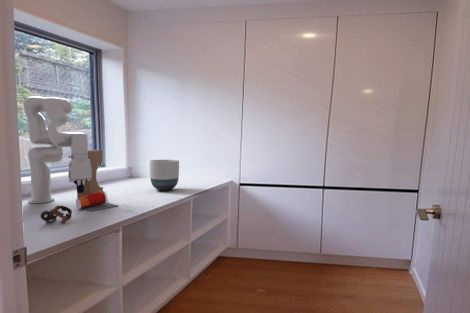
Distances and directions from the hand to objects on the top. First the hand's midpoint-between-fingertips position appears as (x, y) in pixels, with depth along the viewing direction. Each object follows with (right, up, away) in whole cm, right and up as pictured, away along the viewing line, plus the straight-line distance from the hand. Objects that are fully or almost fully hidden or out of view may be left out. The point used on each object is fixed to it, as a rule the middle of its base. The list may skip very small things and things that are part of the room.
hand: (80, 192), depth 154 cm
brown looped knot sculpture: (+1, -11, -22) cm, 25 cm away
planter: (+29, -6, +62) cm, 68 cm away
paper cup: (-2, -6, +1) cm, 6 cm away
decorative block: (-5, -8, +21) cm, 23 cm away
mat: (+6, -9, +8) cm, 13 cm away
